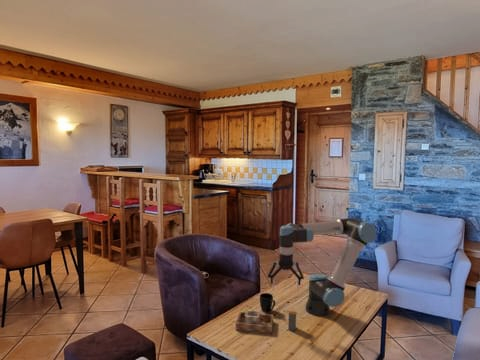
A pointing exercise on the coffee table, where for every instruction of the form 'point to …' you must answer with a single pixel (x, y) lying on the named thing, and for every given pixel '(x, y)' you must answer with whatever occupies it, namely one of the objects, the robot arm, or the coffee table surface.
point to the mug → (266, 302)
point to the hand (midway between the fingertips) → (285, 290)
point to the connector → (292, 319)
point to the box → (254, 322)
